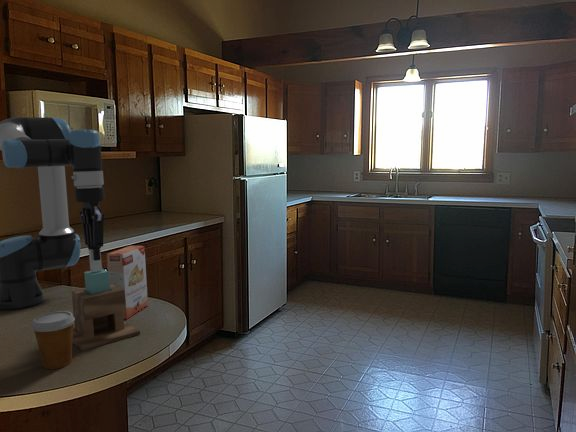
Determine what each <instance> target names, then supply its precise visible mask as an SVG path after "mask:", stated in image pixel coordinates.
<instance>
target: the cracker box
mask: <svg viewBox="0 0 576 432" xmlns="http://www.w3.org/2000/svg"><path fill="white" fill-rule="evenodd" d="M106 265H107V271H108V272H109V283H112V284H114V285H116V286H118V287H120V288H122V289H124V290H125V300H126V311H123V317H124V320H128V319H129V318H131V317H132V316H134V315H135V313H136V314H137V313H138V311H139V312H140V311H142V310H143V308H144V307H145V308H147V307H148V306H149V303H148V302H149V301H148V299H149V298H148V285H147V283H148V281H147V269H146V268H147V266H146V247H145V246H143V245H128V246H126V247H123V248H120V249H118V250H113V251H112V252H109V253H106ZM147 305H148V306H147ZM146 306H147V307H146ZM145 308H144V309H145ZM141 309H142V310H141Z"/></svg>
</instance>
